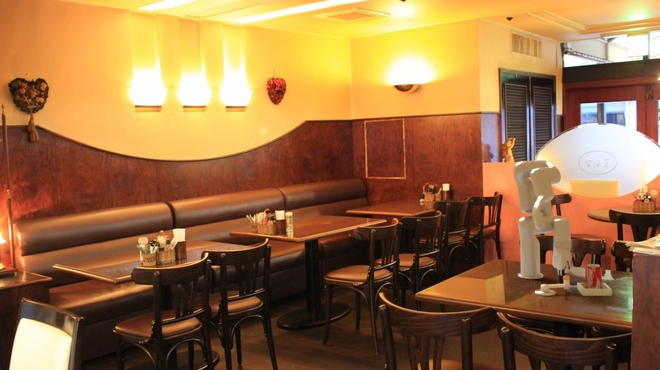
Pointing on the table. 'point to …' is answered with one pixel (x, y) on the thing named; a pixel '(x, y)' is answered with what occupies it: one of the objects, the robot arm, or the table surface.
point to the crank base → (544, 293)
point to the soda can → (593, 276)
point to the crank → (566, 284)
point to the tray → (594, 290)
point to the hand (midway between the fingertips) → (562, 283)
